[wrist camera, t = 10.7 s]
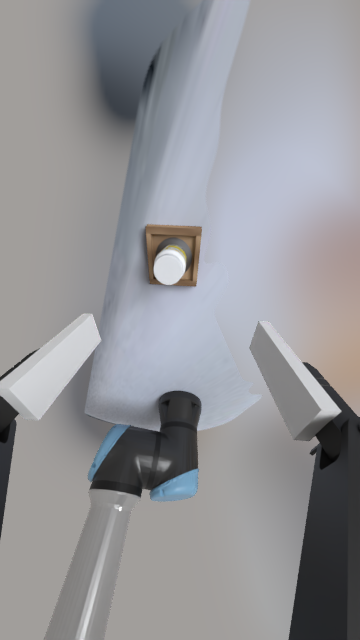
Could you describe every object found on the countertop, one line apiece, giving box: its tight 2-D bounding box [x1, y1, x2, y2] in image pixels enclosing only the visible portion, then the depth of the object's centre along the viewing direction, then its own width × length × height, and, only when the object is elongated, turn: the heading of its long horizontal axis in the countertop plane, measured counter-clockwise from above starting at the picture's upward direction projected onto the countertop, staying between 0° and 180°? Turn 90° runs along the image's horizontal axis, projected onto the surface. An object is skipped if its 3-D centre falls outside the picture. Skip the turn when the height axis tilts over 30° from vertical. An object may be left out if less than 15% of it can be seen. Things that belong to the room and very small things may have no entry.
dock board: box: [146, 224, 202, 286], centre depth 28 cm, size 10×9×2 cm
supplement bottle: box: [153, 244, 187, 285], centre depth 24 cm, size 5×5×8 cm
